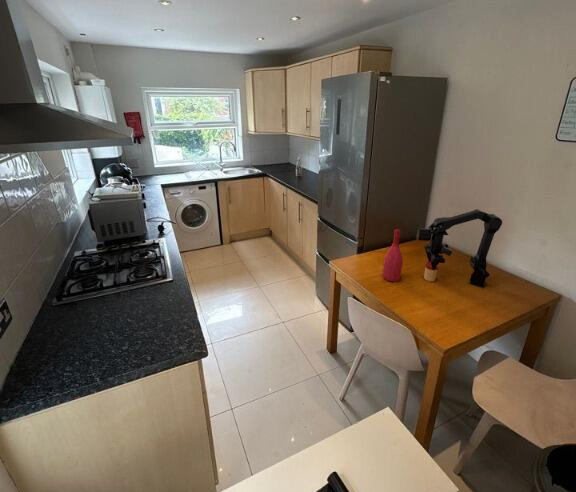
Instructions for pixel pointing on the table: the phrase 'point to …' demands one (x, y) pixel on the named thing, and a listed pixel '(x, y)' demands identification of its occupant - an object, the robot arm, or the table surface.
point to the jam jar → (430, 274)
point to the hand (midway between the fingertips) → (431, 266)
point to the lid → (430, 266)
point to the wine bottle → (393, 260)
